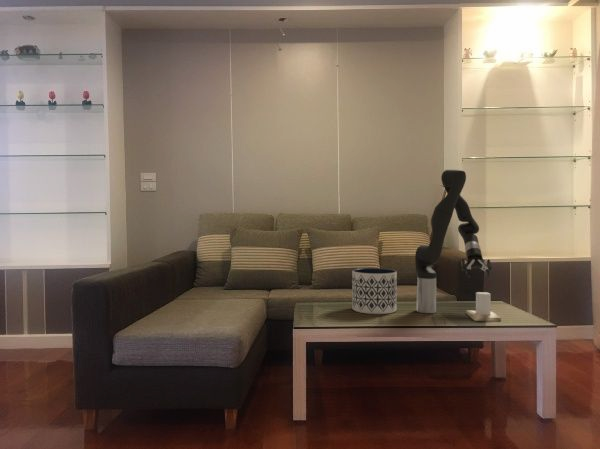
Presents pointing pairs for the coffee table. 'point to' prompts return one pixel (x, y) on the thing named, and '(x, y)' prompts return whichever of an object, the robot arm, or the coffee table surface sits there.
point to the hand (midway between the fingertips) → (478, 276)
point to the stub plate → (483, 316)
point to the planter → (374, 290)
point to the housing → (483, 303)
